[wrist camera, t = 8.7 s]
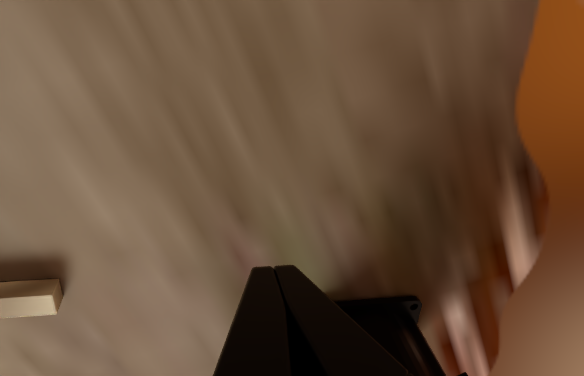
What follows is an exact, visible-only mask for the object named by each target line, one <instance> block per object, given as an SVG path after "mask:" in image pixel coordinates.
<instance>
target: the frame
mask: <svg viewBox="0 0 584 376" xmlns="http://www.w3.org/2000/svg"><path fill="white" fill-rule="evenodd" d="M62 299H63V295H62V291H61V286H60V282H59V279H45V280H29V281H12V282H0V318H13V317H27V316H40V315H54V314H57V312H58V309H59V307H60V304H61V301H62Z"/></svg>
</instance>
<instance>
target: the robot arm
mask: <svg viewBox="0 0 584 376" xmlns="http://www.w3.org/2000/svg"><path fill="white" fill-rule="evenodd" d="M412 304H413V305H412ZM421 307H422V304H421V302H420V300H419V299H418V297H416V296H407V297H394V298H381V299H368V300H355V301H343V302H333V301H332V300H331V299H330V298H329V297H328V296H327V295H326V294H325V293H324V292H323V291H321V290H320V289H319V288H318V287H317V286H316V285H315V284H314V283H313V282H312V281H311V280H310V279H309V278H307V277H306V276H305V275H304V274H303V273H302V272H301V271H300V270H299V269H298V268H297V267H295V266H294V265H281V266H275V267H274V269H273V268H272V267H271V266H264V267H254V268H252V270H251V272H250V275H249V278H248V281H247V283H246V286H245V289H244V292H243V294H242V297H241V300H240V303H239V305H238V308H237V311H236V314H235V316H234V319H233V322H232V324H231V327H230V330H229V333H228V335H227V338H226V341H225V344H224V346H223V349H222V352H221V355H220V357H219V360H218V363H217V366H216V368H215V371H214V374H213V376H446V374H445V372H444V371H443V369H442V367H441V365H440V364H439V362H438V360H437V359H436V357H435V355H434V353H433V352H432V350H431V348H430V346H429V345H428V343H427V341H426V339H425V338H424V336H423V334H422V332H421V331H420V329H419V327H418V325H417V322H418V319H419V315H420V311H421ZM458 376H468V375H467V373H466V372H464V373H462V374H460V375H458Z"/></svg>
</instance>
